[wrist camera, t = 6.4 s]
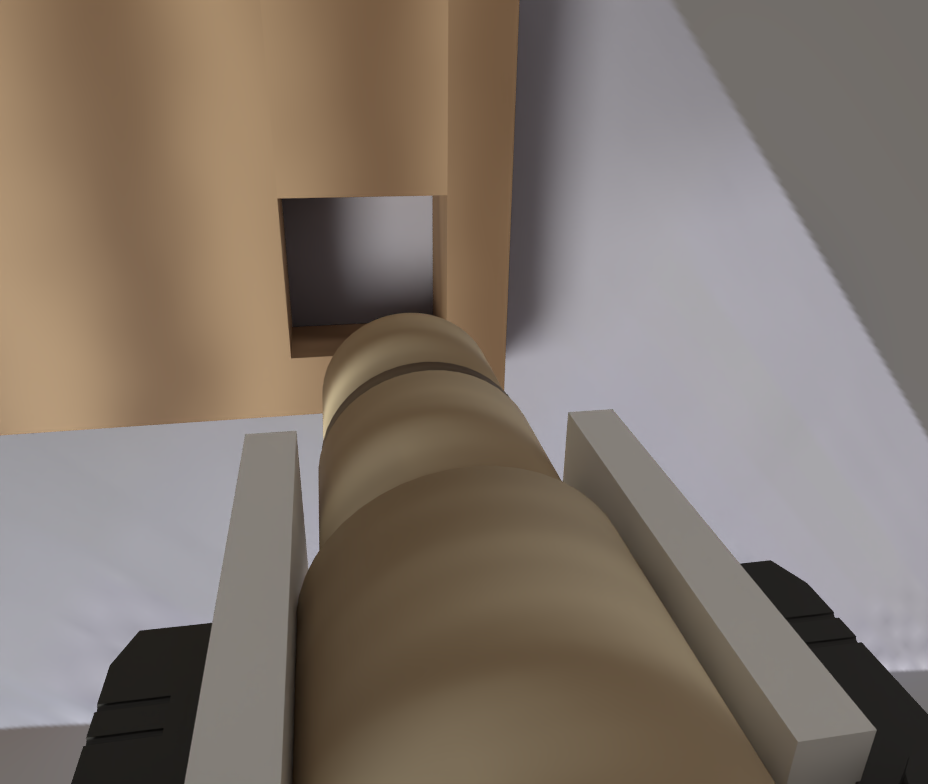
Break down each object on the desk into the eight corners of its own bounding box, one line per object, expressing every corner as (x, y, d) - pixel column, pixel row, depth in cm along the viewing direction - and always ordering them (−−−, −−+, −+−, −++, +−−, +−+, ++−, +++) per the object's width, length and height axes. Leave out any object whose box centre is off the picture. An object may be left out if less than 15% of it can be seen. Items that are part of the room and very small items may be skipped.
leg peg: (310, 491, 17) (301, 1830, 4) (294, 298, 15) (194, 1646, 2) (505, 474, 17) (998, 1573, 5) (513, 289, 16) (1325, 1275, 3)
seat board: (28, 394, 26) (-4, 435, 23) (-79, -40, 21) (-135, -52, 18) (485, 367, 29) (503, 401, 26) (496, -22, 23) (520, -30, 21)
